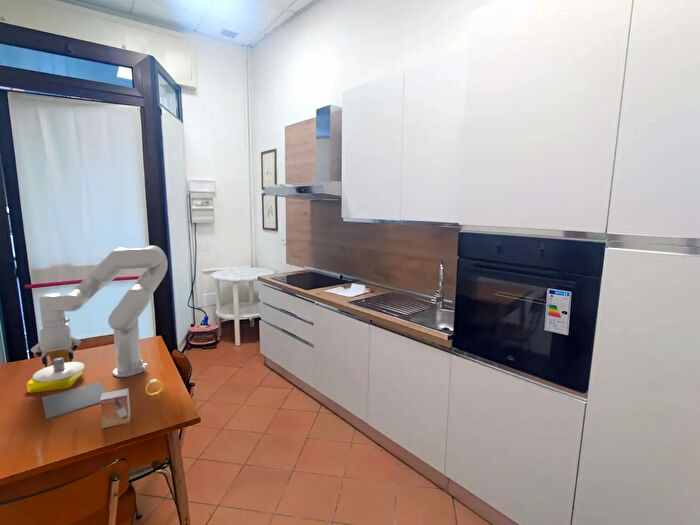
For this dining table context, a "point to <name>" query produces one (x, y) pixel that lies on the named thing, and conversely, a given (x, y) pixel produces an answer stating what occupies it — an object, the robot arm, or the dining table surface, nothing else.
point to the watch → (153, 383)
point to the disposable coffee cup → (59, 355)
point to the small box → (115, 408)
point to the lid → (58, 371)
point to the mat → (72, 400)
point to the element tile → (52, 384)
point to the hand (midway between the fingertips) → (58, 362)
